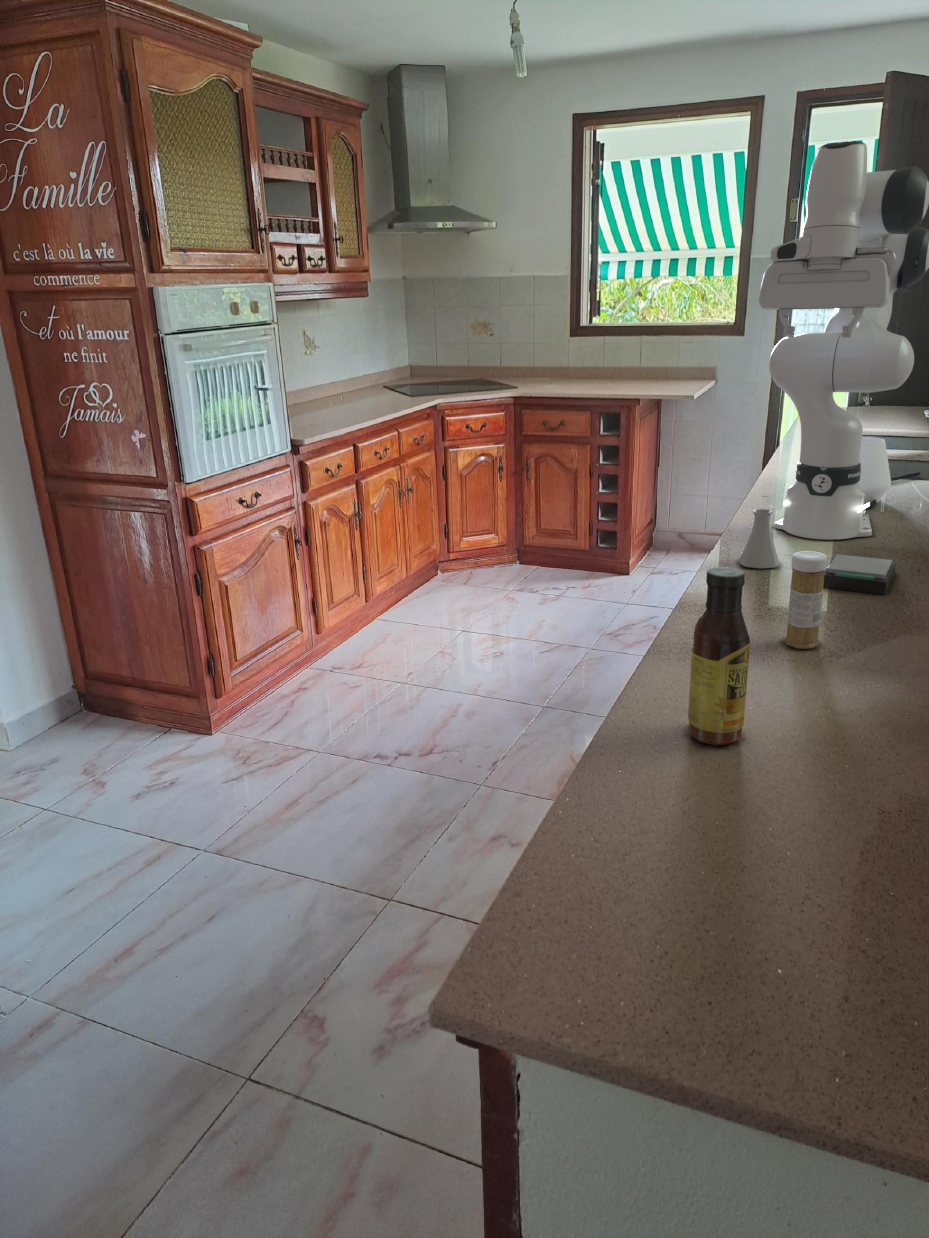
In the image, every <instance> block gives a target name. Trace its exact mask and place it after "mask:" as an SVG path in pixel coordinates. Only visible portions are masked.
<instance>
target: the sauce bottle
mask: <svg viewBox="0 0 929 1238" xmlns="http://www.w3.org/2000/svg"><path fill="white" fill-rule="evenodd" d="M745 578H746V574H745V571H743V569H739V568H736V567H730V566H718V567H711V568H709V569H708V570H707V571H706V578H705V579H706V580H705V581H706V585H707V588H706V589H707V591H706V601H705V611H704V612H703V614H702V615H701V616H700V617H699V618H698V620H697V622H696V624H695V625H694V631H693V642H692V643H693V645H692V648H691V659H690V660H691V661H690V675H689V676H690V679H689V680H690V681H689V693H688V708H687V709H688V711H687V721H688V733H689V734H690V735H691V738H693V739H694V740H696V741H697V742H700V743H703V744H708V745H712V746H725V745H730V744H733V743H735V742H737V741H739V740H740V739H741V736H742V732H743V730H742V729H743V727H744V725H745V712H746V699H747V688H748V677H749V665H750V664H749V662H750V650H751V639H750V635H749V632H748V628H747V625H746V621H745V618H744V615H743V611H742V608H743V605H742V599H743V598H742V597H743V596H742V595H743V588H744V585H745V584H746V582H745V580H746V579H745Z"/></svg>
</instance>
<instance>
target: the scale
mask: <svg viewBox="0 0 929 1238" xmlns="http://www.w3.org/2000/svg"><path fill="white" fill-rule="evenodd" d="M896 564H897V562H895V561H893V559H887V558H876V557H867V556H858V555H847V554H839V553H837V554H836V555H834V557H833V558H832V560H830V562H829V563H828V564H827V567H826V571H825V573H824V584H823V588H827V589H835V590H841V591H851V592H859V593H866V594H875V595H883V596H884V595H886V593H887V591H888V588H889V586H890V584H891V582H892V580H893V578H894V576H895V574H896V573H895V572H896V567H897V565H896Z"/></svg>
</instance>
